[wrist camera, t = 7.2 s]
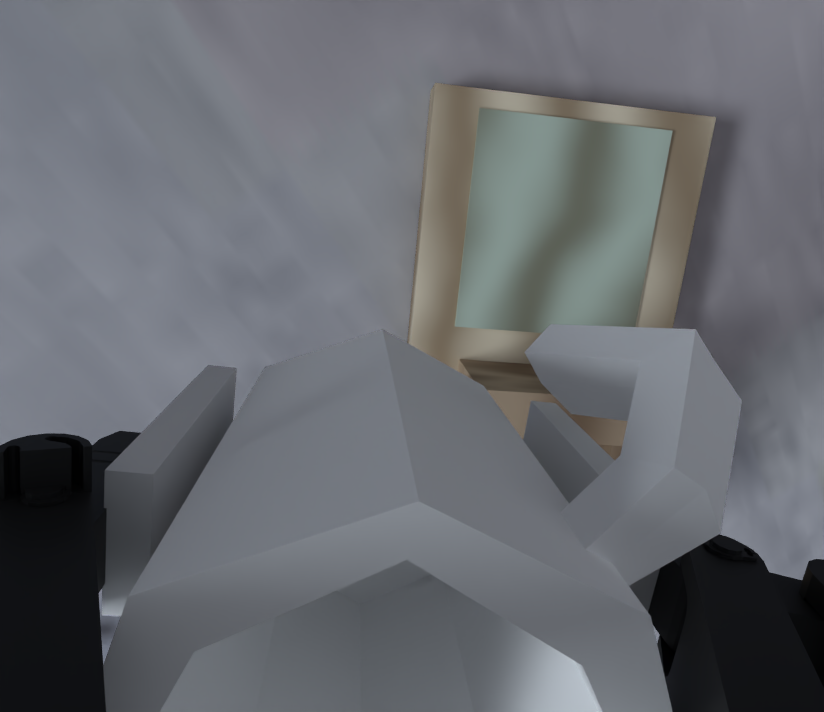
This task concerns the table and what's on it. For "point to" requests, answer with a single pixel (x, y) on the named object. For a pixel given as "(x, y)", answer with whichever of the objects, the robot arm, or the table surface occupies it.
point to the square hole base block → (548, 231)
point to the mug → (430, 538)
